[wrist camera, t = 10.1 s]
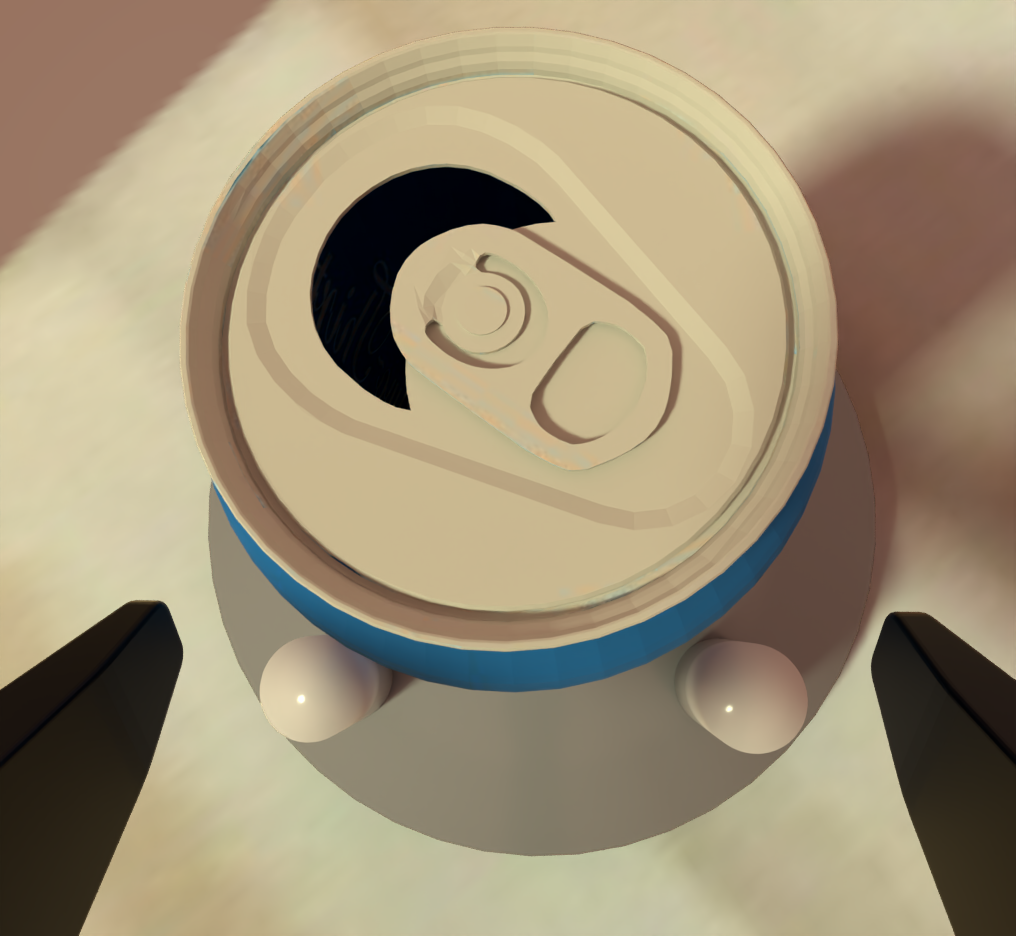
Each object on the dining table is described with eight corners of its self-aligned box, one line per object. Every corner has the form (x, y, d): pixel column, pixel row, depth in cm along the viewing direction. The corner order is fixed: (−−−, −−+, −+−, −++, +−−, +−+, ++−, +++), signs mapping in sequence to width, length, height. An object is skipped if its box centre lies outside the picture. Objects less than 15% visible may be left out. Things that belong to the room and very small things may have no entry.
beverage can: (506, 329, 19) (430, -128, 7) (724, 477, 18) (1044, 223, 6) (347, 537, 18) (-22, 398, 7) (565, 703, 17) (591, 895, 6)
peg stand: (879, 851, 17) (980, 924, 13) (201, 829, 18) (100, 892, 14) (833, 212, 20) (904, 111, 16) (253, 222, 21) (182, 128, 17)
